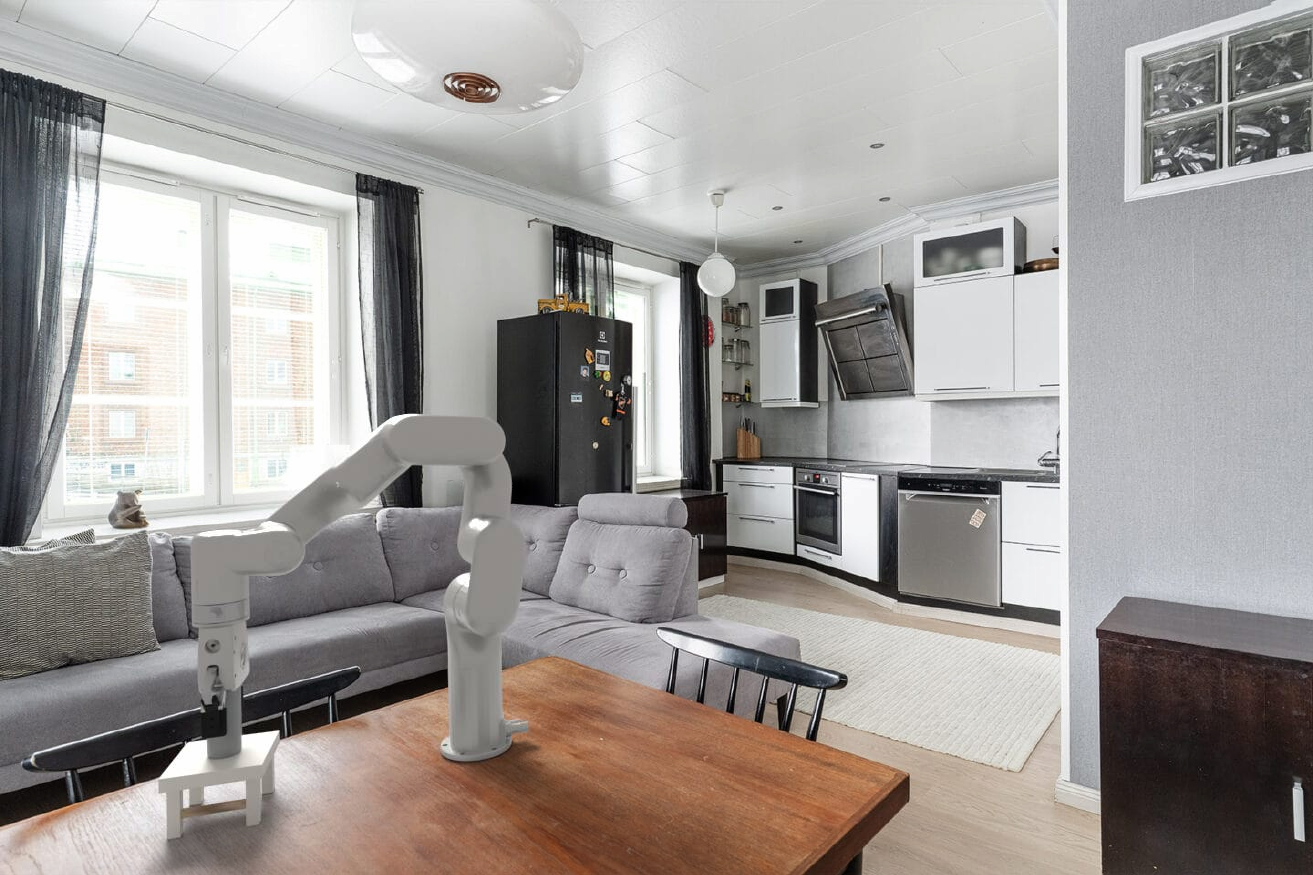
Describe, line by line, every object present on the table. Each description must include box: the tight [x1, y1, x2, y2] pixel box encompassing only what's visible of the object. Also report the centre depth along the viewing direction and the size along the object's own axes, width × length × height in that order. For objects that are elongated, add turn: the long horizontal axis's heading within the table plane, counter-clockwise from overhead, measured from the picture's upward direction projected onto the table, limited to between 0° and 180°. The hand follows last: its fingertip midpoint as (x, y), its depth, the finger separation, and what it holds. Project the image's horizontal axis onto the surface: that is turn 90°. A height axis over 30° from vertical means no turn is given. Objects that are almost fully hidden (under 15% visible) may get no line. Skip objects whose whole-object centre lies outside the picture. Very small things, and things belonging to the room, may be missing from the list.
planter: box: [206, 685, 243, 759], centre depth 108 cm, size 4×4×10 cm
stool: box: [157, 730, 281, 841], centre depth 108 cm, size 13×13×9 cm
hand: (223, 724), depth 108 cm, fingers open, 9 cm apart
